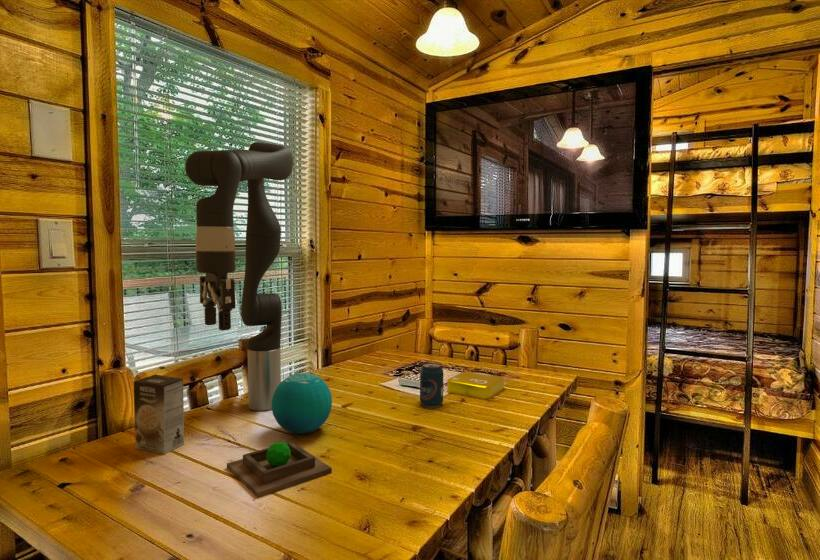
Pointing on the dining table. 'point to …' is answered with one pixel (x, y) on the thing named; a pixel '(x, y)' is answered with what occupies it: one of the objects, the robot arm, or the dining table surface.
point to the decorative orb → (301, 403)
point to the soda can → (431, 385)
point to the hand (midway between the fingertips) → (217, 327)
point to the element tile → (475, 385)
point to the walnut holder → (277, 470)
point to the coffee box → (159, 413)
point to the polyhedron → (278, 454)
